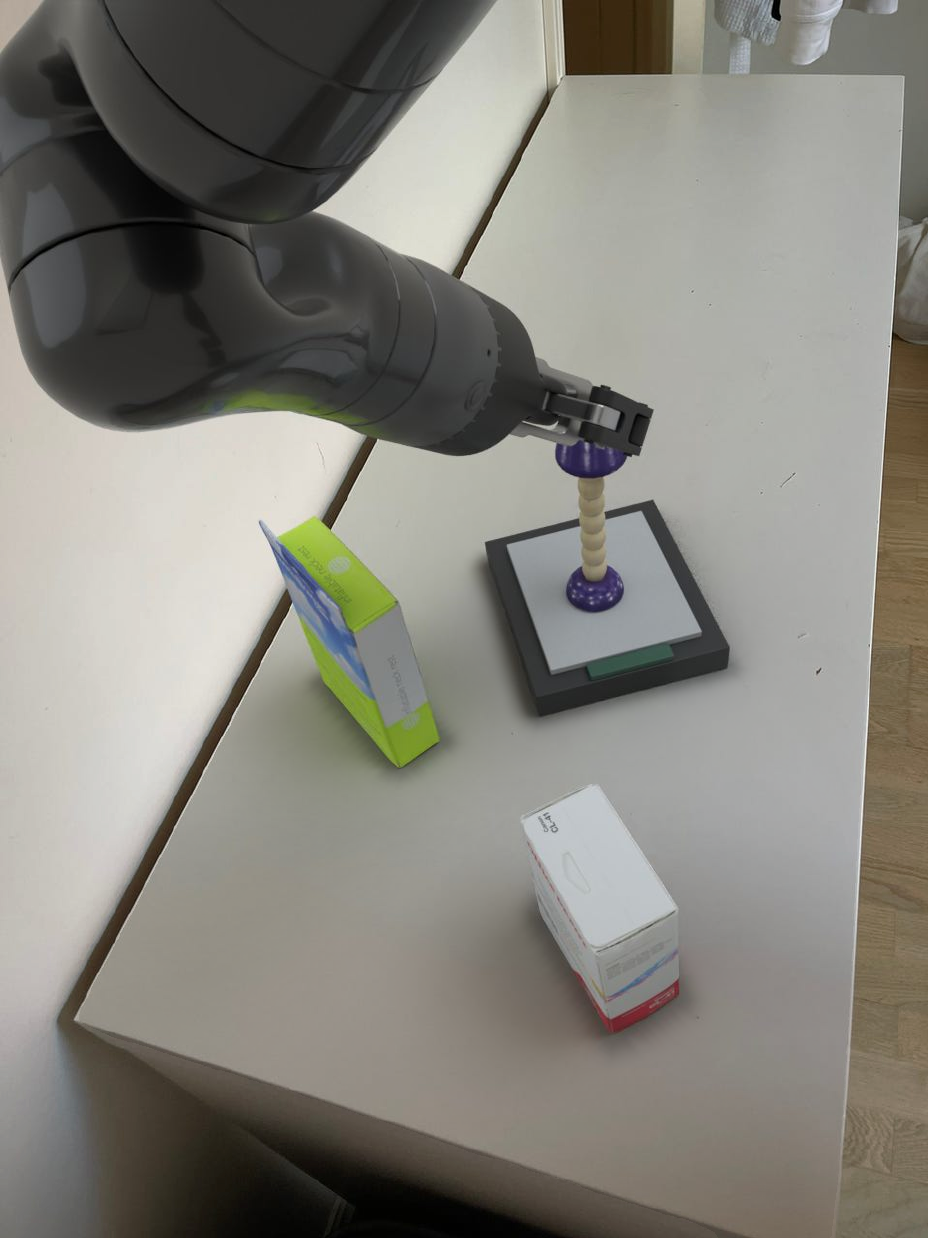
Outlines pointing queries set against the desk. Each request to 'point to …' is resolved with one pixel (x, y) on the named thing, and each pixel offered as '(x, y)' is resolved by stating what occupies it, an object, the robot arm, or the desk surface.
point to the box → (356, 638)
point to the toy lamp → (592, 525)
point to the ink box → (604, 905)
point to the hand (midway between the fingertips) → (559, 414)
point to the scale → (604, 612)
